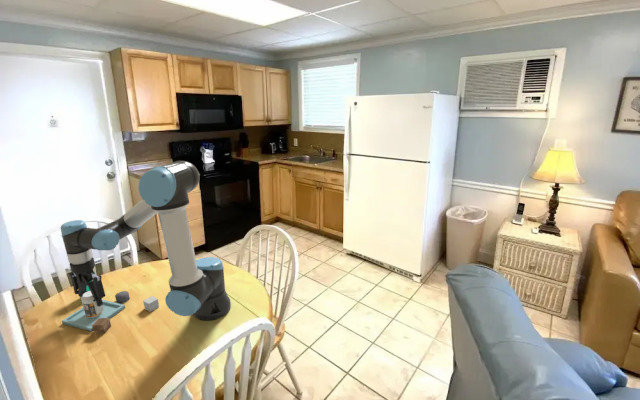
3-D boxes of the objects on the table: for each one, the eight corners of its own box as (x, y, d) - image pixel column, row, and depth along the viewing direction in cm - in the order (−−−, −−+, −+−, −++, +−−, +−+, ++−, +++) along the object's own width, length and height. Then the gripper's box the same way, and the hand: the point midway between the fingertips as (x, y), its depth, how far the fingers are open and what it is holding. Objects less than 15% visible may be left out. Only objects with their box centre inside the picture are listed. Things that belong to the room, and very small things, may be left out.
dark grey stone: (132, 297, 139) (131, 292, 138) (122, 304, 134) (121, 298, 133) (123, 295, 140) (122, 290, 139) (113, 302, 135) (112, 296, 135)
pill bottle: (94, 319, 124) (89, 298, 121) (82, 317, 125) (77, 296, 122) (106, 310, 129) (101, 290, 126) (94, 309, 130) (89, 288, 127)
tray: (125, 307, 132) (124, 304, 132) (91, 331, 118) (91, 328, 118) (98, 301, 136) (97, 298, 135) (62, 323, 122) (61, 320, 122)
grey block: (159, 306, 133) (157, 299, 132) (150, 312, 130) (148, 303, 129) (153, 303, 135) (152, 295, 134) (144, 308, 132) (143, 300, 131)
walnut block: (111, 326, 121) (109, 317, 120) (105, 333, 118) (103, 325, 116) (100, 326, 121) (98, 318, 120) (94, 334, 117) (91, 325, 116)
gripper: (109, 259, 120) (120, 309, 127) (72, 252, 125) (85, 300, 132) (90, 268, 113) (103, 321, 120) (53, 260, 118) (67, 311, 125)
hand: (93, 310), depth 126 cm, fingers closed on pill bottle, 6 cm apart
